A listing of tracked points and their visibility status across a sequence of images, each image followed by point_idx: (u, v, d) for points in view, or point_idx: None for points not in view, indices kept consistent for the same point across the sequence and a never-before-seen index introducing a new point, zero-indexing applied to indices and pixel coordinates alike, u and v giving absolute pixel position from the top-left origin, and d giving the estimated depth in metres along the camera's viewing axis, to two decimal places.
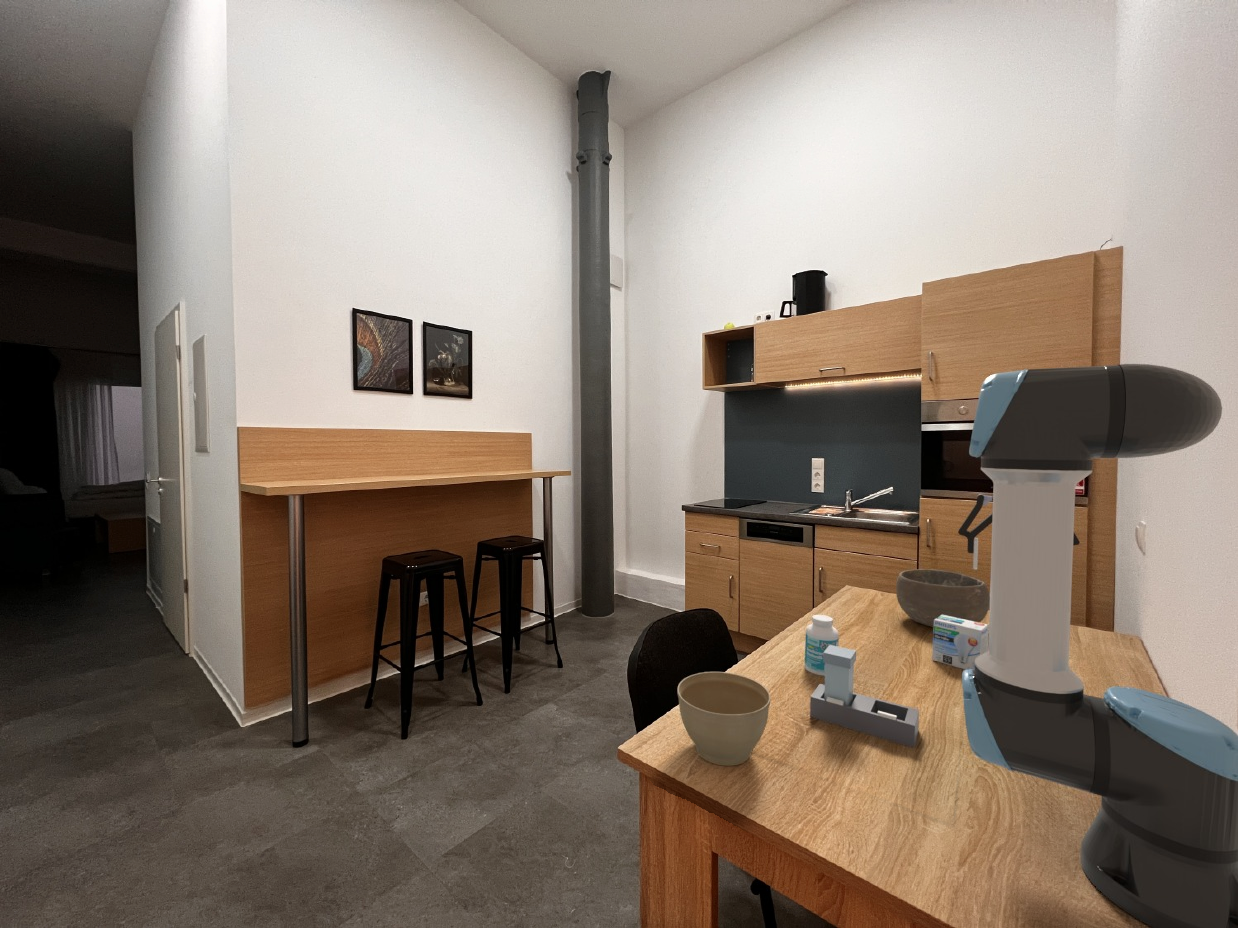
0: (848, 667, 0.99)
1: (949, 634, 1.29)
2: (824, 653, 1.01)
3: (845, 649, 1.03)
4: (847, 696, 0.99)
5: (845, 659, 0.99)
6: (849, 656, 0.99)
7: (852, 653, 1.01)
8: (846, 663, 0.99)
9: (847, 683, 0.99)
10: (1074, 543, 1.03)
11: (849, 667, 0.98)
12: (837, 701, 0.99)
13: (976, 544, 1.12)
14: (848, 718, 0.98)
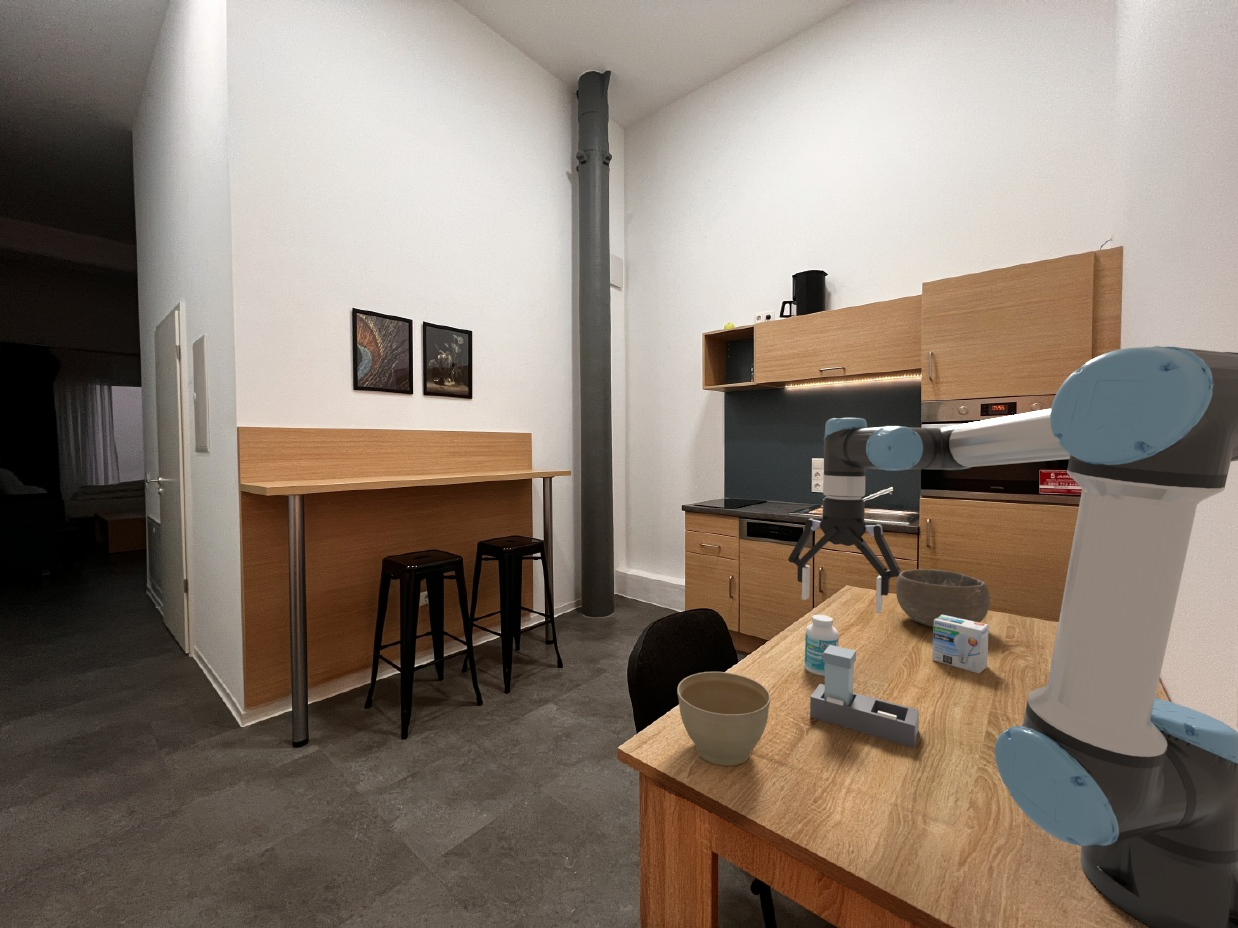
0: (848, 667, 0.99)
1: (949, 634, 1.29)
2: (824, 653, 1.01)
3: (845, 649, 1.03)
4: (847, 696, 0.99)
5: (845, 659, 0.99)
6: (849, 656, 0.99)
7: (852, 653, 1.01)
8: (846, 663, 0.99)
9: (847, 683, 0.99)
10: (894, 575, 0.95)
11: (849, 667, 0.98)
12: (837, 701, 0.99)
13: (804, 573, 1.04)
14: (848, 718, 0.98)
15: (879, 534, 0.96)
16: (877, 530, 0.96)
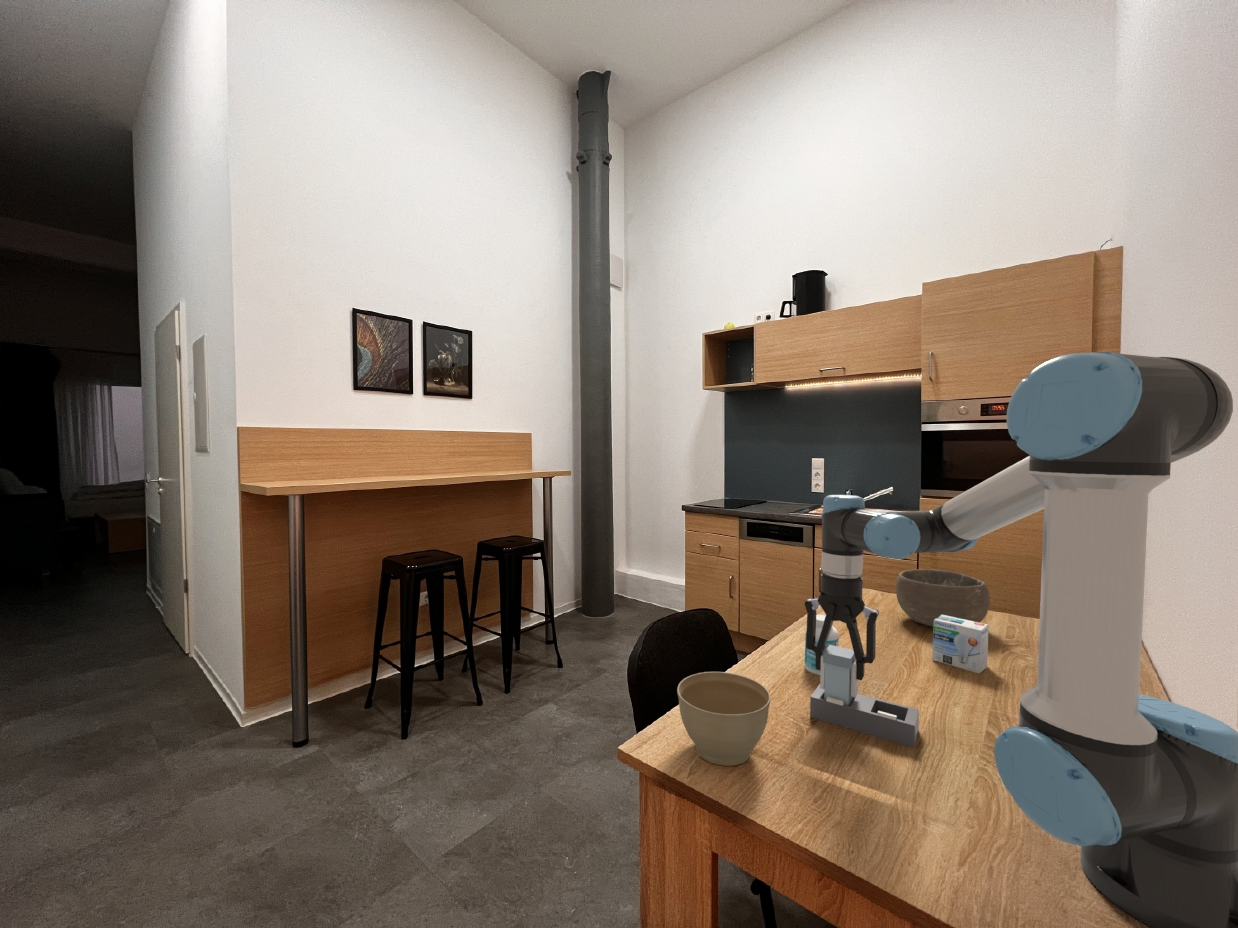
0: (848, 667, 0.99)
1: (949, 634, 1.29)
2: (824, 653, 1.01)
3: (845, 649, 1.03)
4: (847, 696, 0.99)
5: (845, 659, 0.99)
6: (849, 656, 0.99)
7: (852, 653, 1.01)
8: (846, 663, 0.99)
9: (847, 683, 0.99)
10: (867, 660, 0.98)
11: (849, 667, 0.98)
12: (837, 701, 0.99)
13: None
14: (848, 718, 0.98)
15: (873, 621, 0.97)
16: (873, 617, 0.97)
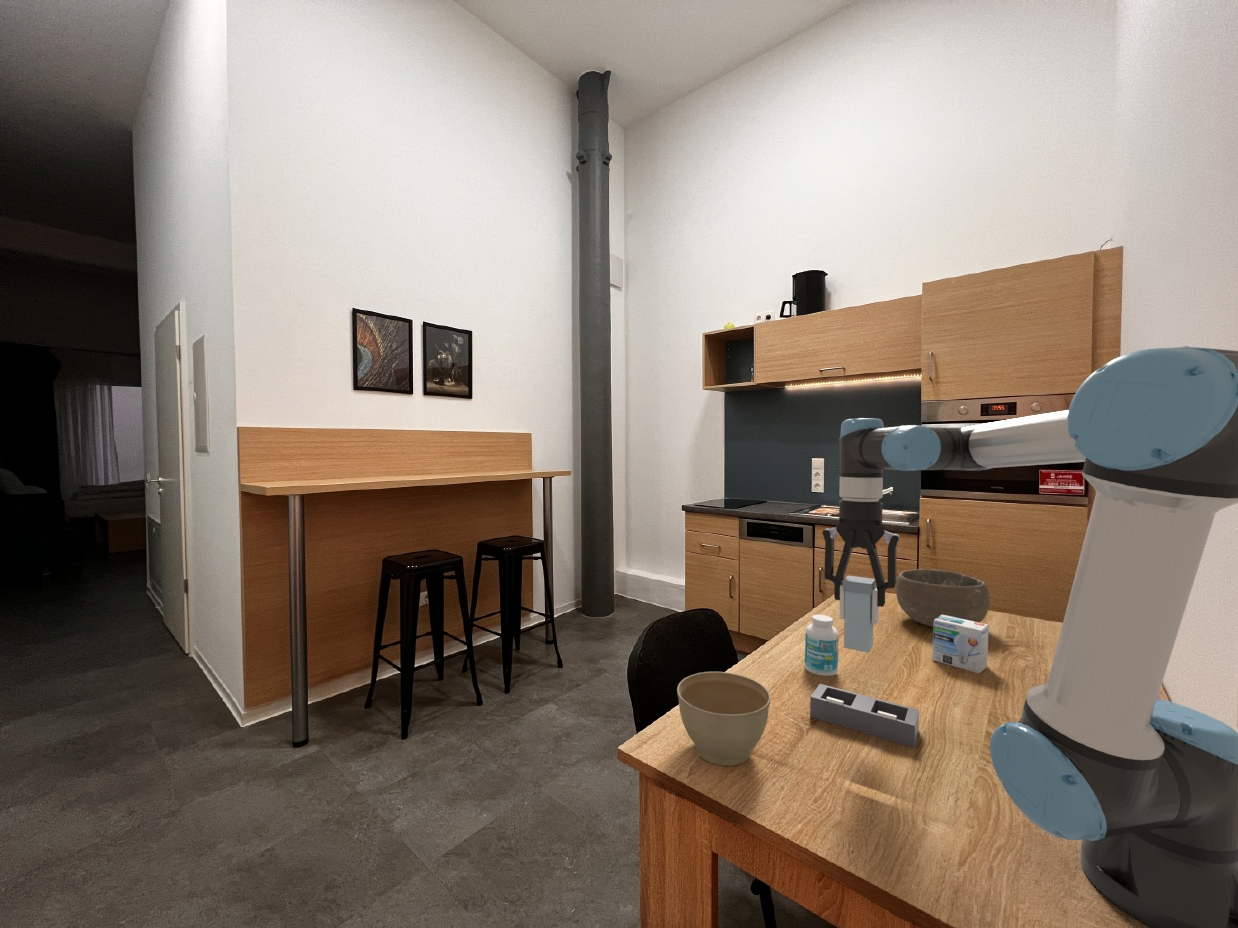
0: (869, 593, 0.96)
1: (949, 634, 1.29)
2: (844, 581, 0.98)
3: (864, 578, 1.00)
4: (868, 623, 0.96)
5: (866, 585, 0.96)
6: (870, 582, 0.97)
7: (872, 580, 0.98)
8: (867, 589, 0.96)
9: (868, 610, 0.96)
10: (889, 585, 0.95)
11: (870, 593, 0.96)
12: (837, 701, 0.99)
13: (842, 590, 1.00)
14: (848, 718, 0.98)
15: (894, 544, 0.95)
16: (894, 540, 0.95)
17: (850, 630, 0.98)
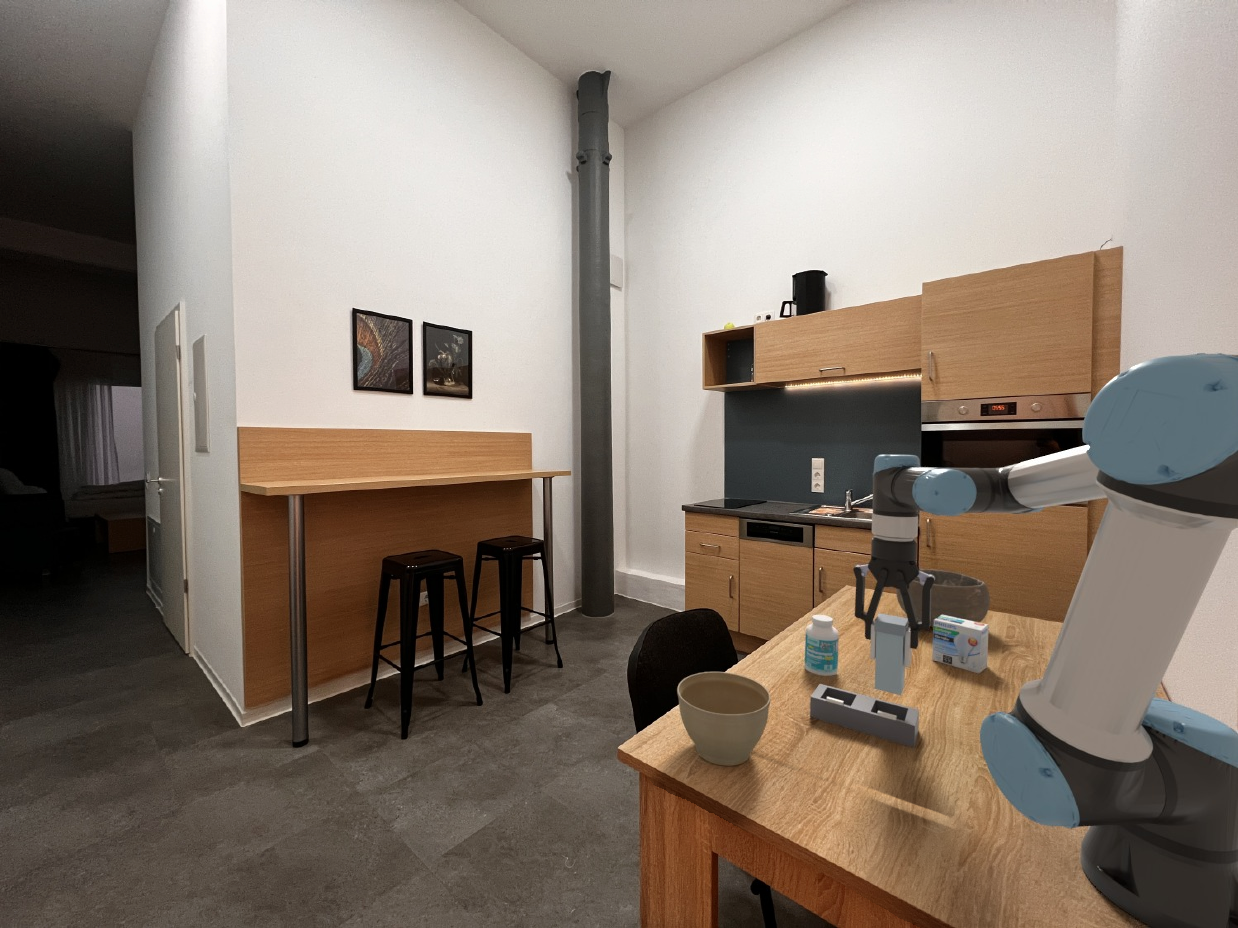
0: (902, 635, 0.93)
1: (949, 634, 1.29)
2: (875, 621, 0.96)
3: (897, 617, 0.97)
4: (901, 665, 0.94)
5: (899, 626, 0.93)
6: (903, 624, 0.94)
7: (905, 621, 0.95)
8: (900, 631, 0.93)
9: (901, 652, 0.94)
10: (923, 628, 0.92)
11: (903, 635, 0.93)
12: (837, 701, 0.99)
13: (873, 630, 0.97)
14: (848, 718, 0.98)
15: (929, 586, 0.92)
16: (930, 582, 0.92)
17: (881, 671, 0.96)
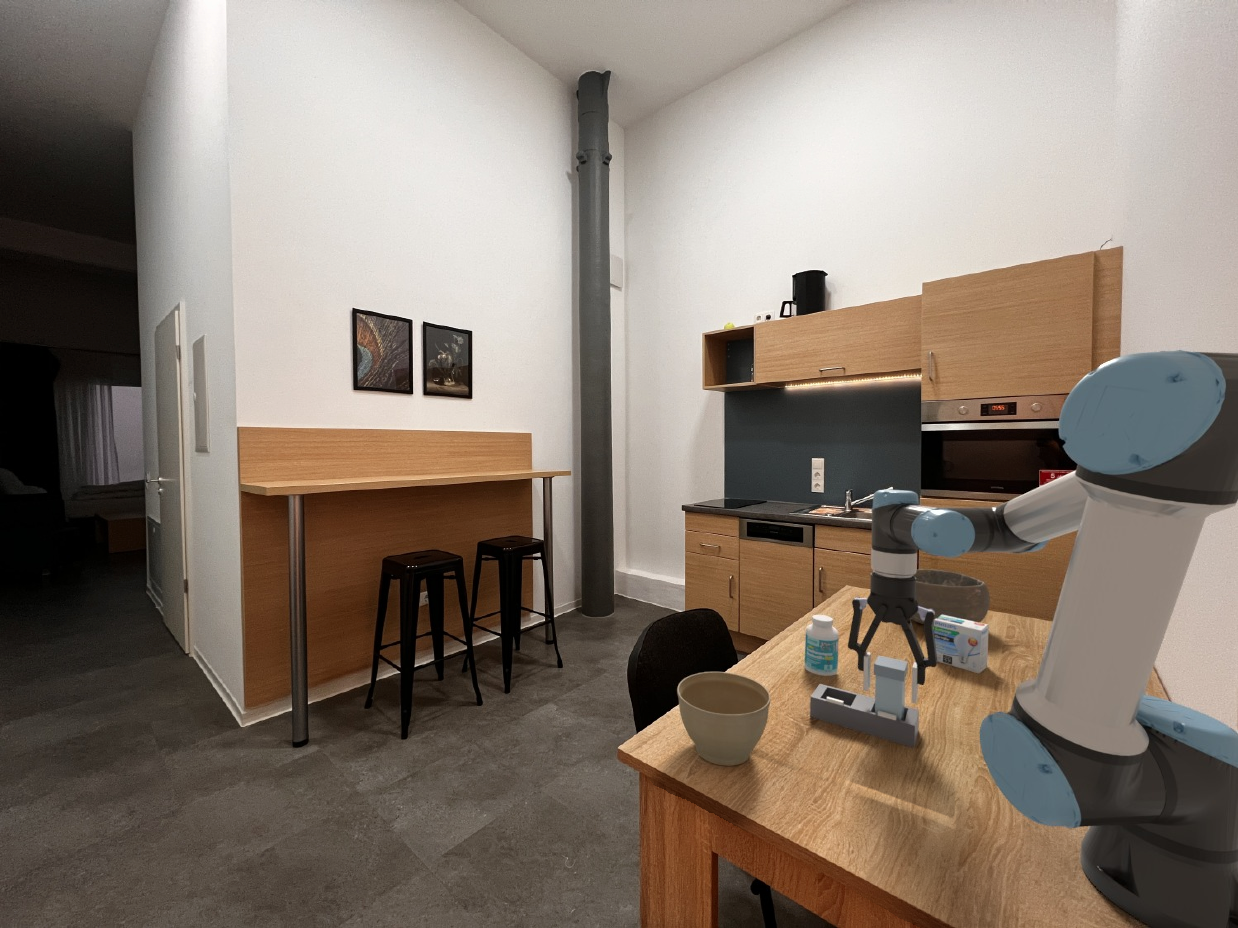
0: (901, 680, 0.93)
1: (949, 634, 1.29)
2: (875, 665, 0.96)
3: (896, 660, 0.98)
4: (900, 710, 0.94)
5: (898, 671, 0.94)
6: (902, 668, 0.94)
7: (904, 665, 0.96)
8: (899, 675, 0.94)
9: (900, 696, 0.94)
10: (930, 664, 0.92)
11: (902, 680, 0.93)
12: (837, 701, 0.99)
13: (866, 662, 0.98)
14: (848, 718, 0.98)
15: (930, 621, 0.92)
16: (930, 617, 0.92)
17: None
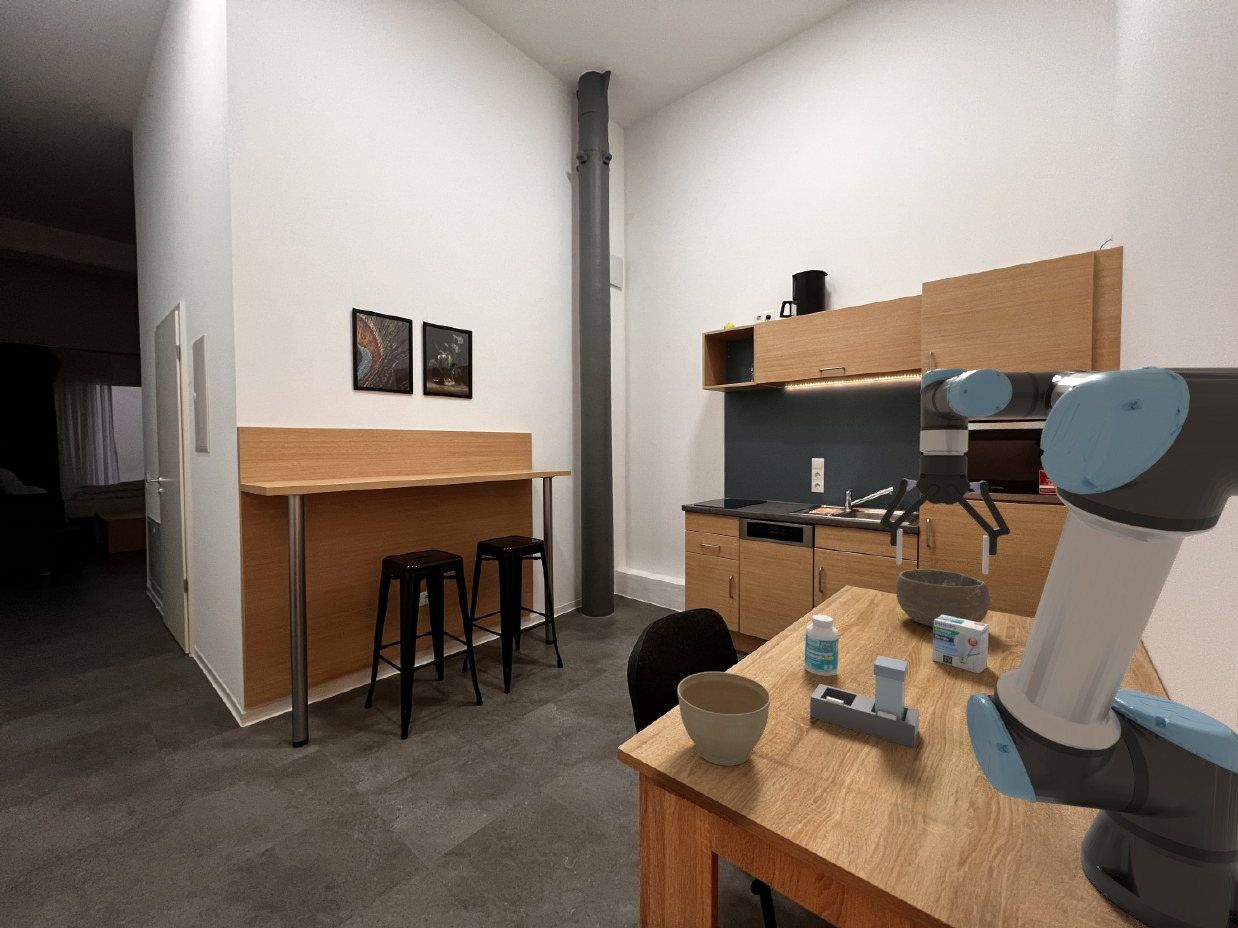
0: (901, 680, 0.93)
1: (949, 634, 1.29)
2: (875, 665, 0.96)
3: (896, 660, 0.98)
4: (900, 710, 0.94)
5: (898, 671, 0.94)
6: (902, 668, 0.94)
7: (904, 665, 0.96)
8: (899, 675, 0.94)
9: (900, 696, 0.94)
10: (1004, 532, 0.90)
11: (902, 680, 0.93)
12: (837, 701, 0.99)
13: (899, 536, 0.98)
14: (848, 718, 0.98)
15: (986, 490, 0.91)
16: (984, 486, 0.91)
17: None
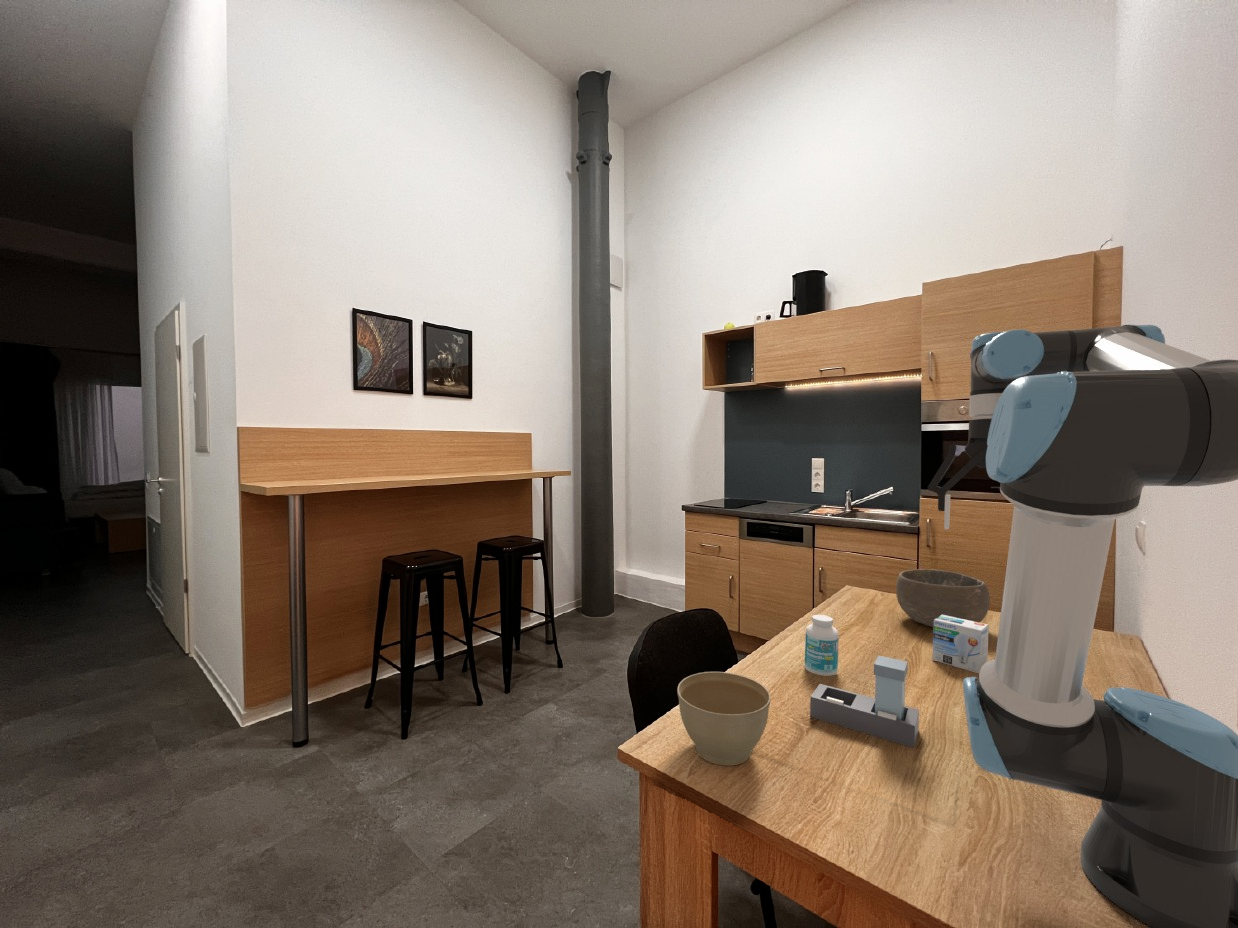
0: (901, 680, 0.93)
1: (949, 634, 1.29)
2: (875, 665, 0.96)
3: (896, 660, 0.98)
4: (900, 710, 0.94)
5: (898, 671, 0.94)
6: (902, 668, 0.94)
7: (904, 665, 0.96)
8: (899, 675, 0.94)
9: (900, 696, 0.94)
10: None
11: (902, 680, 0.93)
12: (837, 701, 0.99)
13: (947, 500, 0.99)
14: (848, 718, 0.98)
15: None
16: None
17: None
